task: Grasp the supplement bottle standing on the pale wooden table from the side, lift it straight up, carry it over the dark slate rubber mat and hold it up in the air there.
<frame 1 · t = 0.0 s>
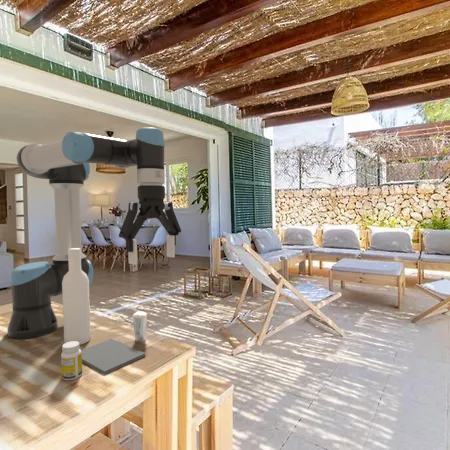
hand: (152, 260, 94), 28 cm above the table, fingers open, 13 cm apart
slate mat: (108, 355, 96), on the table
milkshake: (141, 340, 107), on the table
bottle: (77, 341, 107), on the table
supplement bottle: (72, 376, 85), on the table
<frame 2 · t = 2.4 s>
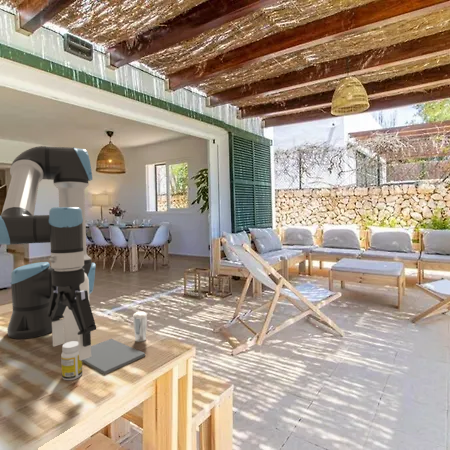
hand: (71, 351, 84), 7 cm above the table, fingers open, 13 cm apart
nothing on the table moved.
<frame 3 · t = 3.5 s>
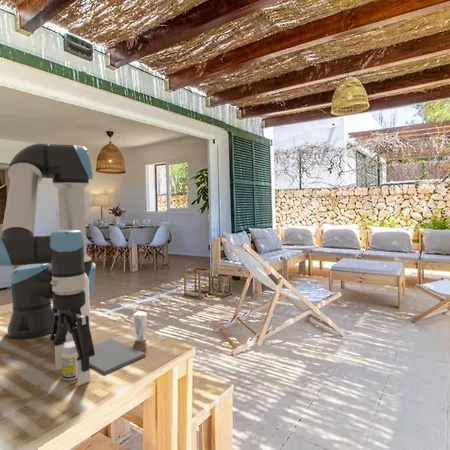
hand: (72, 375, 85), 0 cm above the table, fingers open, 11 cm apart
nothing on the table moved.
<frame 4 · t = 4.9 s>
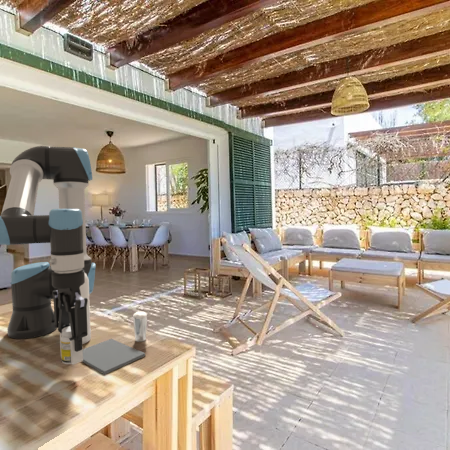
hand: (71, 358, 85), 4 cm above the table, fingers closed on supplement bottle, 5 cm apart
supplement bottle: (71, 360, 85), point 4 cm above the table, touching gripper
everything else where it was.
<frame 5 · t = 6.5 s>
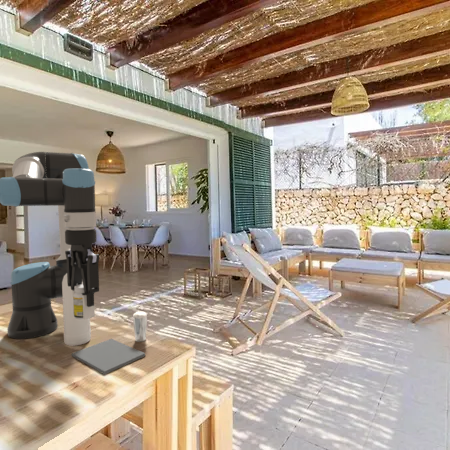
hand: (83, 315, 88), 14 cm above the table, fingers closed on supplement bottle, 5 cm apart
supplement bottle: (83, 317, 88), point 14 cm above the table, touching gripper
everything else where it was.
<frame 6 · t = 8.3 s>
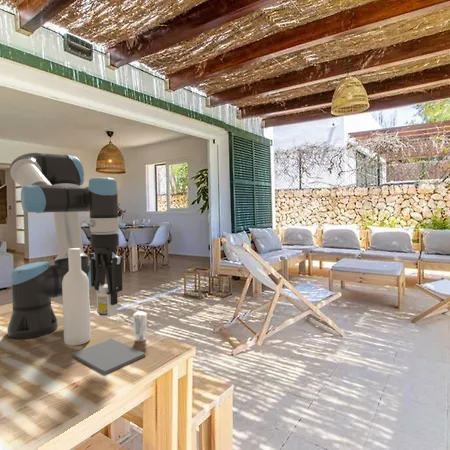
hand: (107, 313, 95), 13 cm above the table, fingers closed on supplement bottle, 5 cm apart
supplement bottle: (107, 315, 95), point 12 cm above the table, touching gripper
everything else where it was.
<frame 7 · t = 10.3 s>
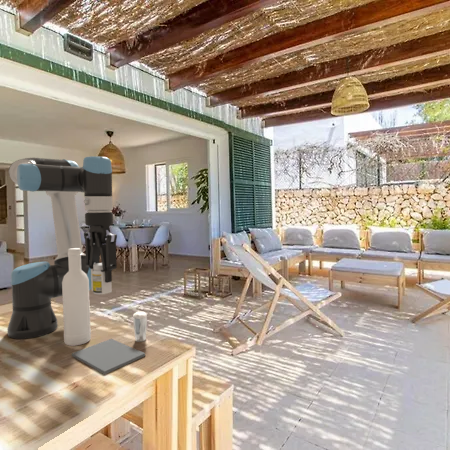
hand: (101, 291, 96), 19 cm above the table, fingers closed on supplement bottle, 5 cm apart
supplement bottle: (101, 293, 96), point 18 cm above the table, touching gripper
everything else where it was.
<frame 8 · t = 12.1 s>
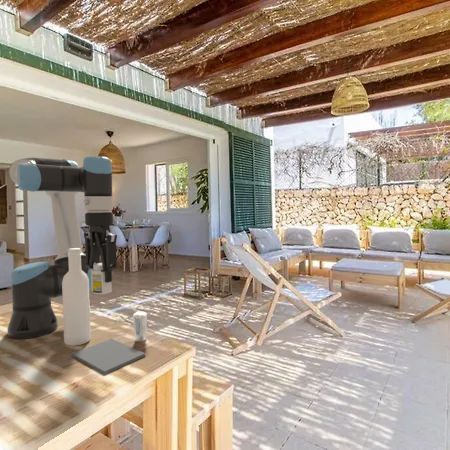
hand: (101, 291, 96), 19 cm above the table, fingers closed on supplement bottle, 5 cm apart
supplement bottle: (101, 293, 96), point 18 cm above the table, touching gripper
everything else where it was.
at the end: the gripper is holding supplement bottle; supplement bottle point 18.1 cm above the table; supplement bottle 2.6 cm from the slate mat (horizontally) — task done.
